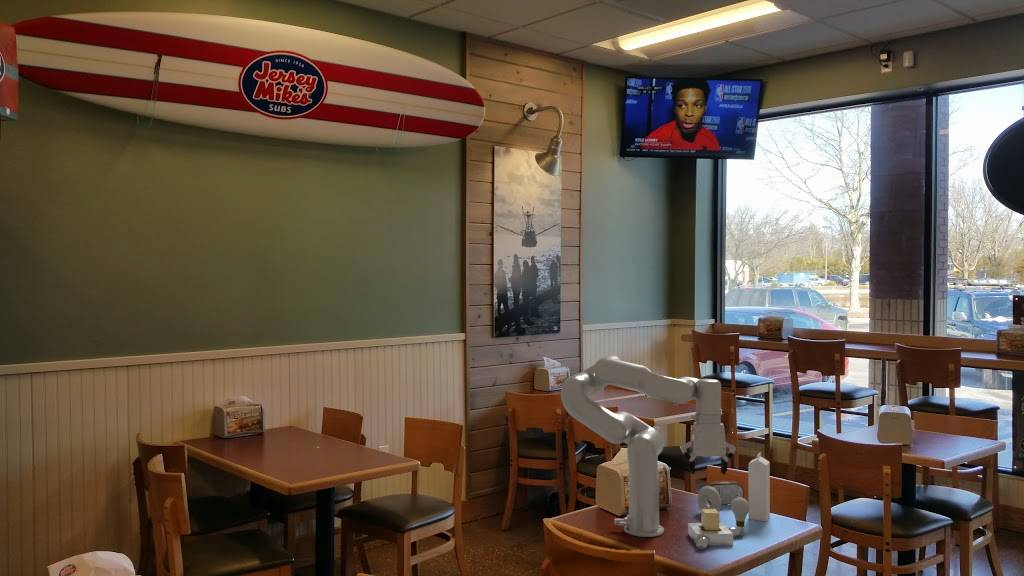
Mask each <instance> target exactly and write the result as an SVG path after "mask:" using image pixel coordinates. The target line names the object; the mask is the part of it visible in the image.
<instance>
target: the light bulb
mask: <svg viewBox="0 0 1024 576" xmlns="http://www.w3.org/2000/svg"><path fill="white" fill-rule="evenodd" d="M730 510H731V511H732V514H733V515H734V518H735V525H736V526H735V527H742V528H743V529H744V528H745V523H746V518H747V515H749V510H750V506H749V500H747V499H746V498H741V497H738V498H735V499H734V500H733V501H732V503H731V505H730Z"/></svg>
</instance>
